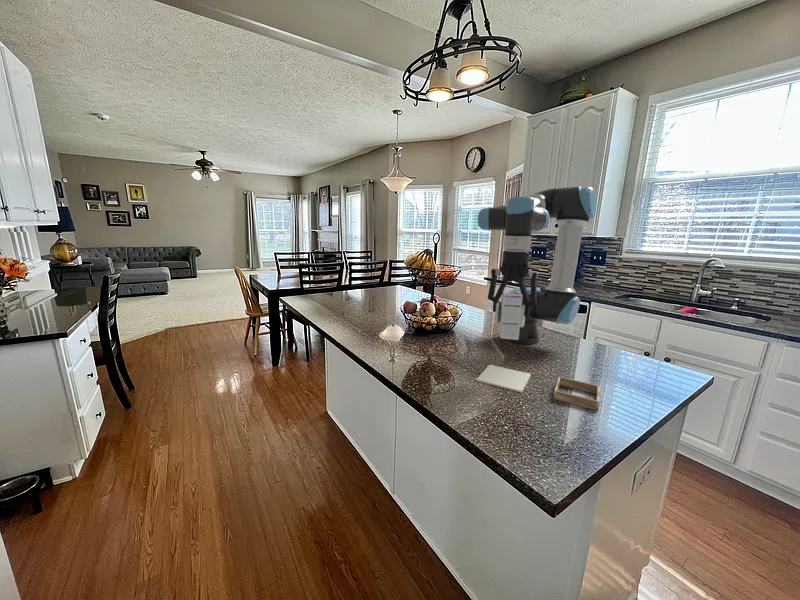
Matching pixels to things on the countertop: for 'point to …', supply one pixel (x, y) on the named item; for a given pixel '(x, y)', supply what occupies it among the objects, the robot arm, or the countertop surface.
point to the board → (504, 378)
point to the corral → (574, 398)
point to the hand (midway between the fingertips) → (509, 324)
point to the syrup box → (510, 314)
